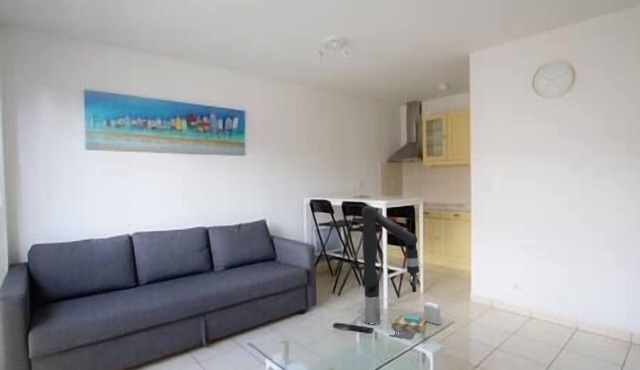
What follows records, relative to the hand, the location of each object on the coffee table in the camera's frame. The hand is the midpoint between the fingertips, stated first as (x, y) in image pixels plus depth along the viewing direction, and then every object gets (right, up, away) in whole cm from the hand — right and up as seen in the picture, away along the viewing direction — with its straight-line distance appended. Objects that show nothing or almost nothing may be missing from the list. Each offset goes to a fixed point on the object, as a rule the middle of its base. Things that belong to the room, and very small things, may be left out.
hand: (414, 291), depth 225 cm
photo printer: (+11, -19, -3) cm, 22 cm away
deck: (-5, -19, -8) cm, 22 cm away
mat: (-12, -20, -18) cm, 29 cm away
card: (-3, -15, -8) cm, 17 cm away
